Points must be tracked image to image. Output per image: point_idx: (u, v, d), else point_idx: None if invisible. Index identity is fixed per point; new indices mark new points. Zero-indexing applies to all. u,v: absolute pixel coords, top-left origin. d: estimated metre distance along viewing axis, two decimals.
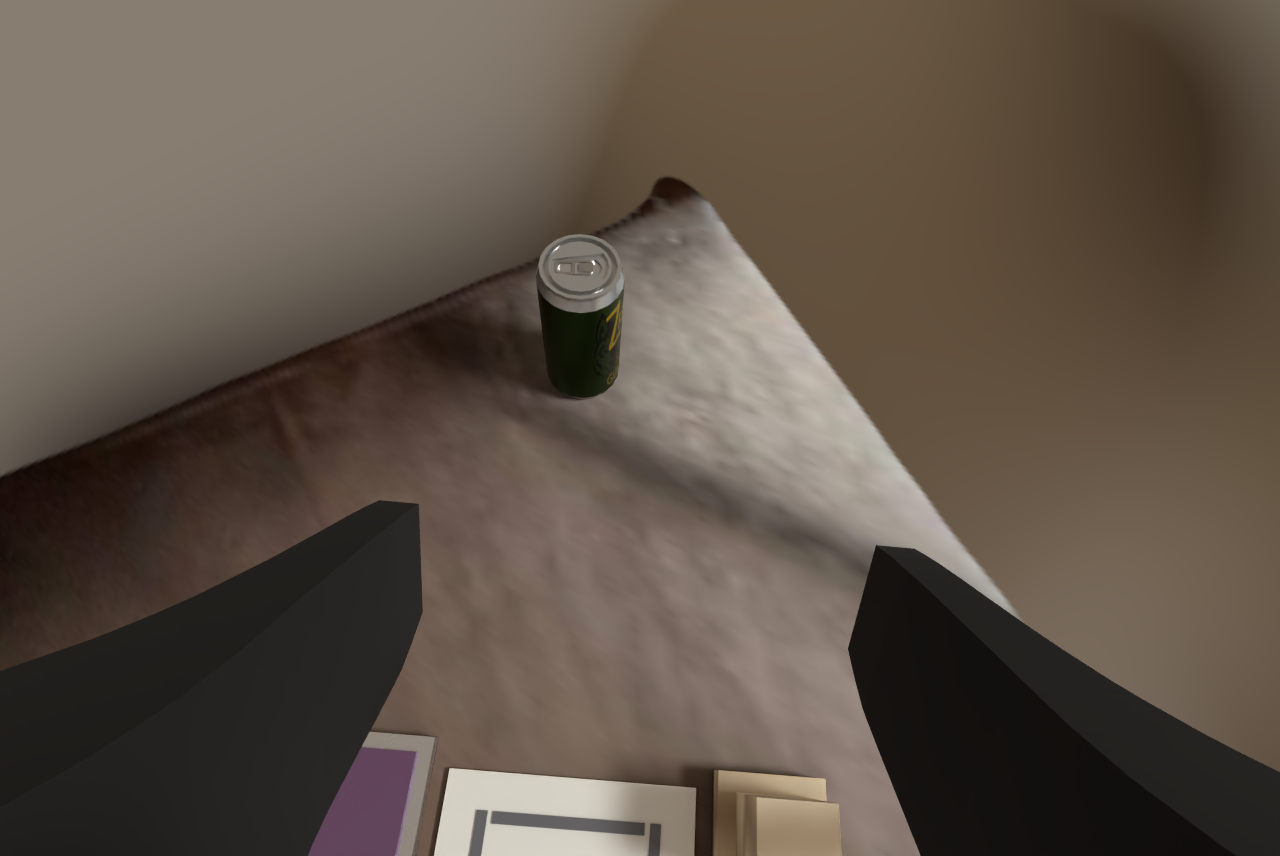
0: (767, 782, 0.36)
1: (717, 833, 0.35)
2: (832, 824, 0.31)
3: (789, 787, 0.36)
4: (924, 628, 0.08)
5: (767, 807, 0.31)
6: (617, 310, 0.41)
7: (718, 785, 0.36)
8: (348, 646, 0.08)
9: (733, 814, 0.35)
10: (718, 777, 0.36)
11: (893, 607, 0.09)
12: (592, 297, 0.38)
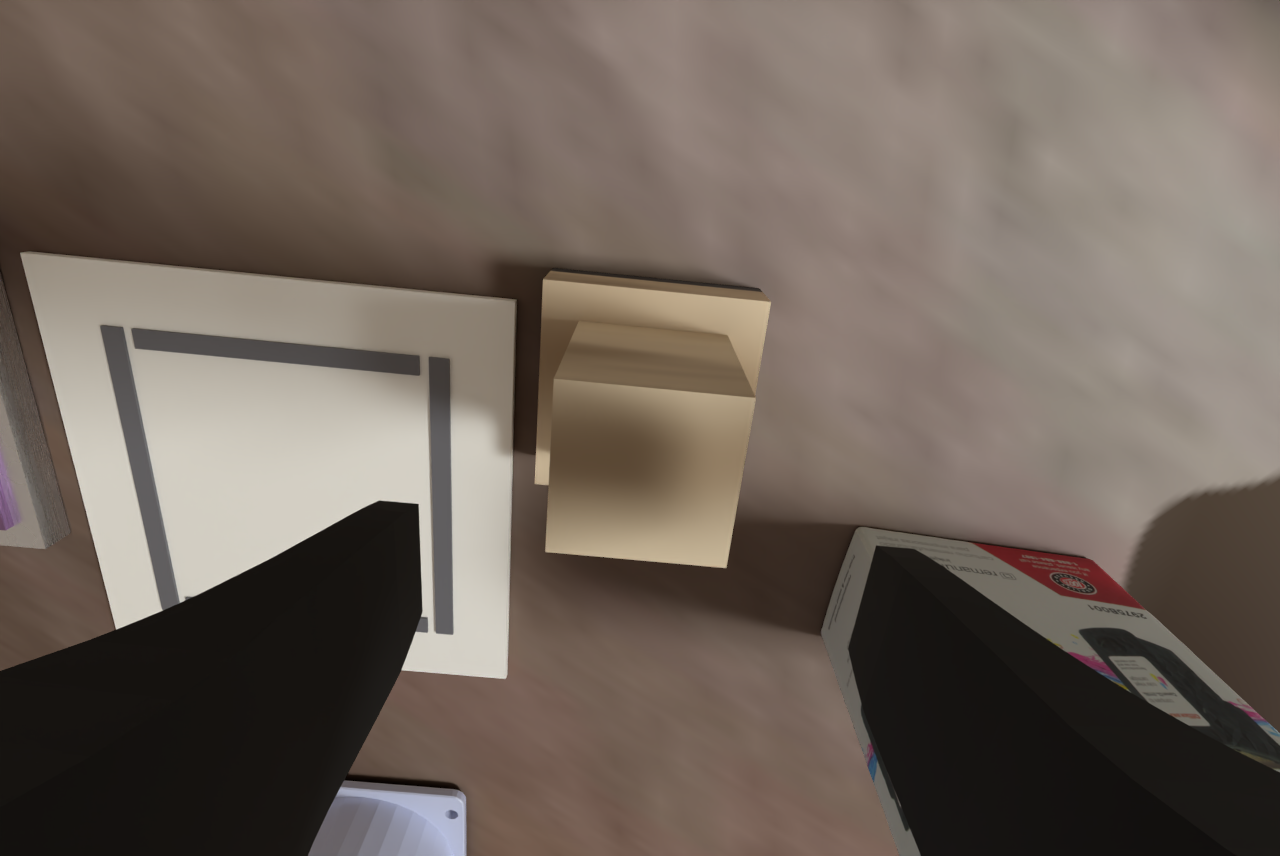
0: (646, 306, 0.17)
1: (539, 387, 0.18)
2: (730, 437, 0.13)
3: (691, 315, 0.17)
4: (924, 628, 0.08)
5: (578, 399, 0.13)
6: None
7: (543, 306, 0.17)
8: (348, 646, 0.08)
9: None
10: (543, 292, 0.17)
11: (893, 607, 0.09)
12: None
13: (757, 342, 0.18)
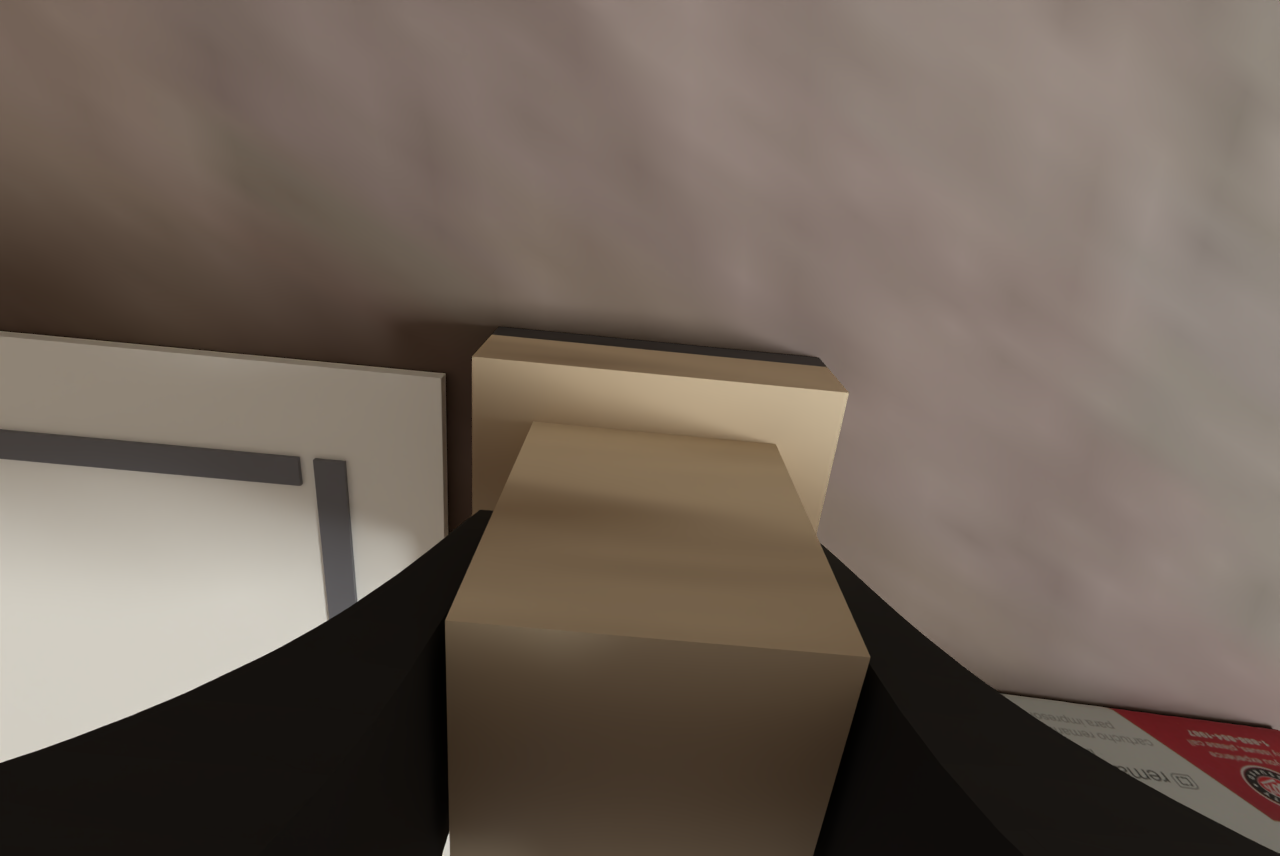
0: (644, 399, 0.11)
1: None
2: (813, 725, 0.07)
3: (717, 413, 0.11)
4: None
5: (498, 658, 0.06)
6: None
7: (475, 399, 0.11)
8: None
9: None
10: None
11: None
12: None
13: (824, 455, 0.11)
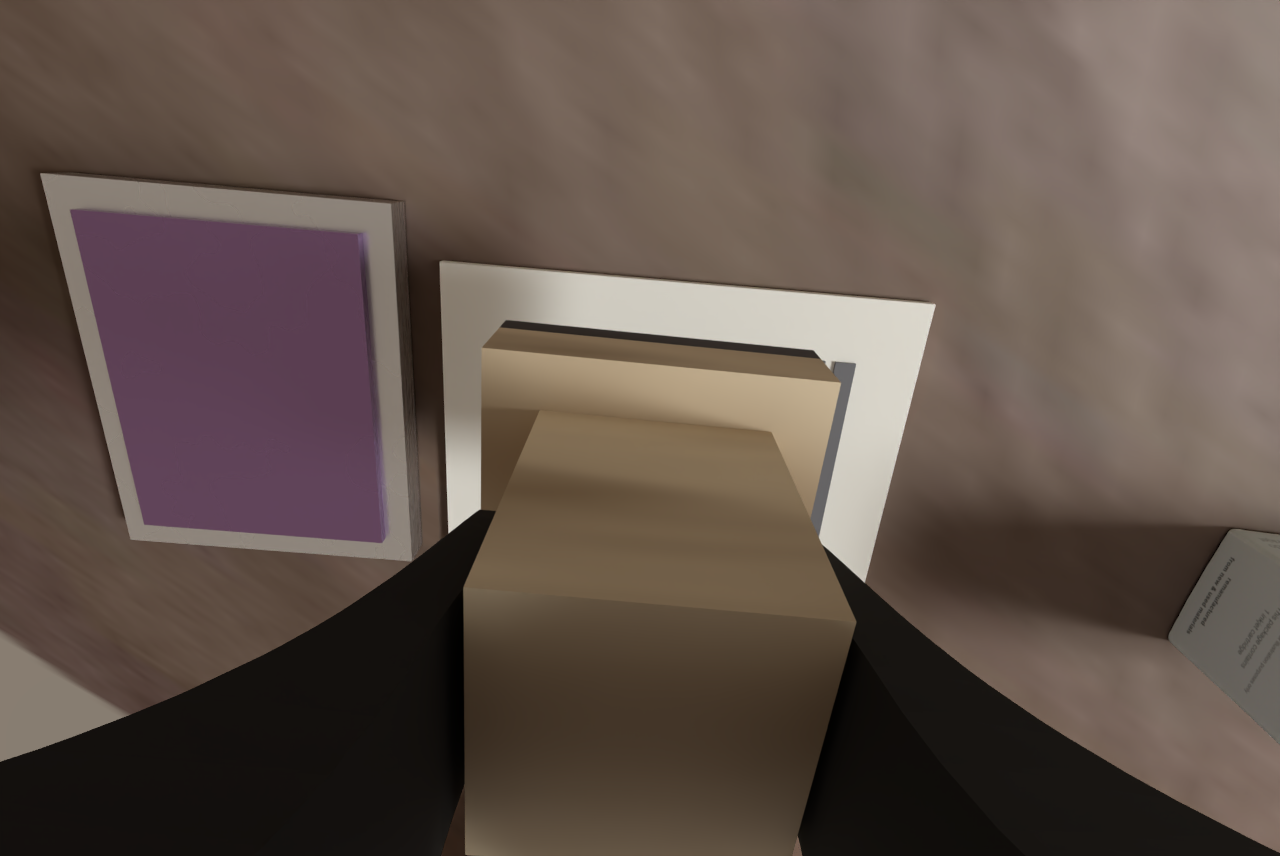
0: (645, 388, 0.11)
1: None
2: (804, 686, 0.07)
3: (715, 402, 0.11)
4: None
5: (511, 623, 0.07)
6: None
7: (484, 388, 0.11)
8: None
9: None
10: (484, 366, 0.11)
11: None
12: None
13: (817, 442, 0.11)
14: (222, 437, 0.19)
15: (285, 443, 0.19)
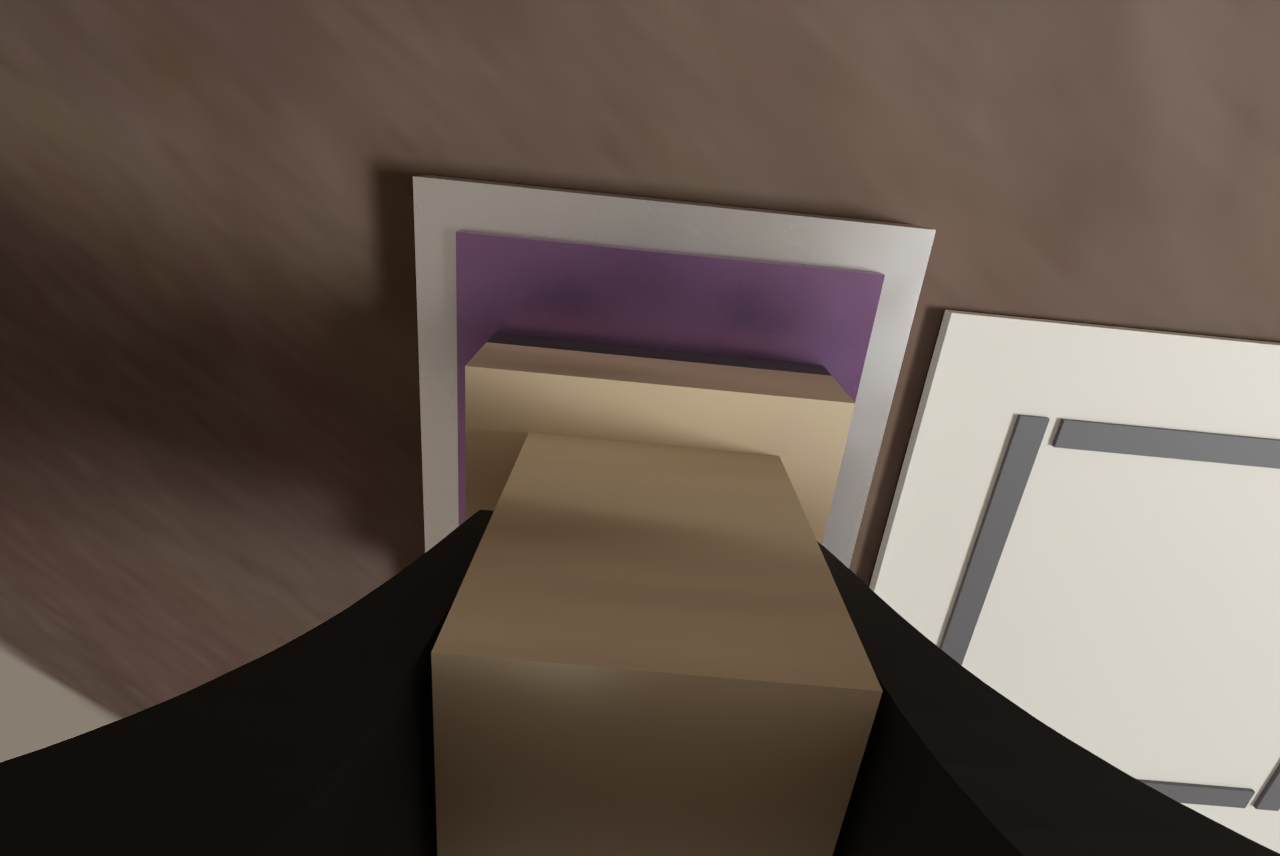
0: (643, 409, 0.10)
1: None
2: (822, 761, 0.06)
3: (718, 424, 0.10)
4: None
5: (487, 691, 0.06)
6: None
7: (468, 409, 0.10)
8: None
9: None
10: (468, 385, 0.10)
11: None
12: None
13: (829, 467, 0.10)
14: None
15: None
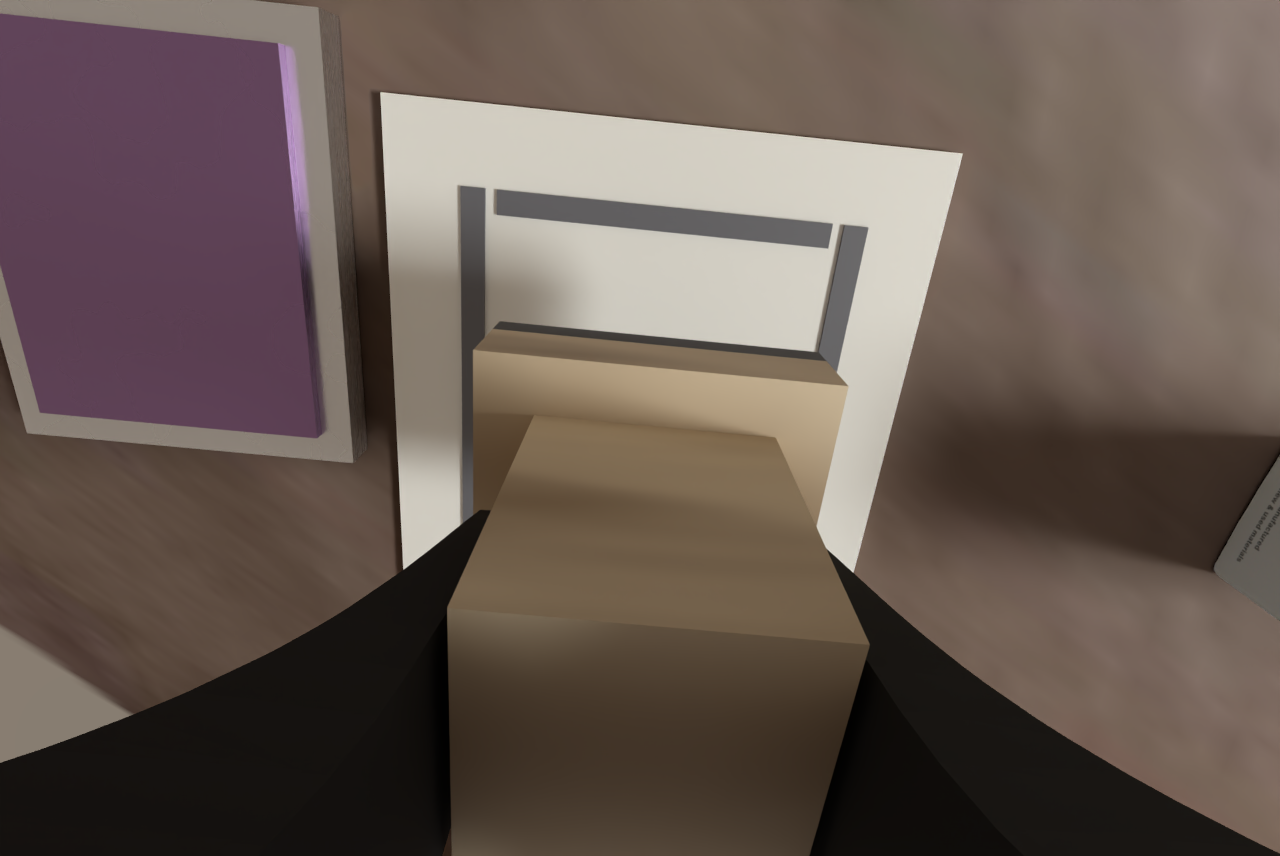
0: (644, 392, 0.11)
1: None
2: (813, 713, 0.07)
3: (717, 407, 0.11)
4: None
5: (499, 646, 0.06)
6: None
7: (476, 392, 0.11)
8: None
9: None
10: (476, 369, 0.11)
11: None
12: None
13: (823, 448, 0.11)
14: (126, 304, 0.16)
15: (200, 312, 0.17)
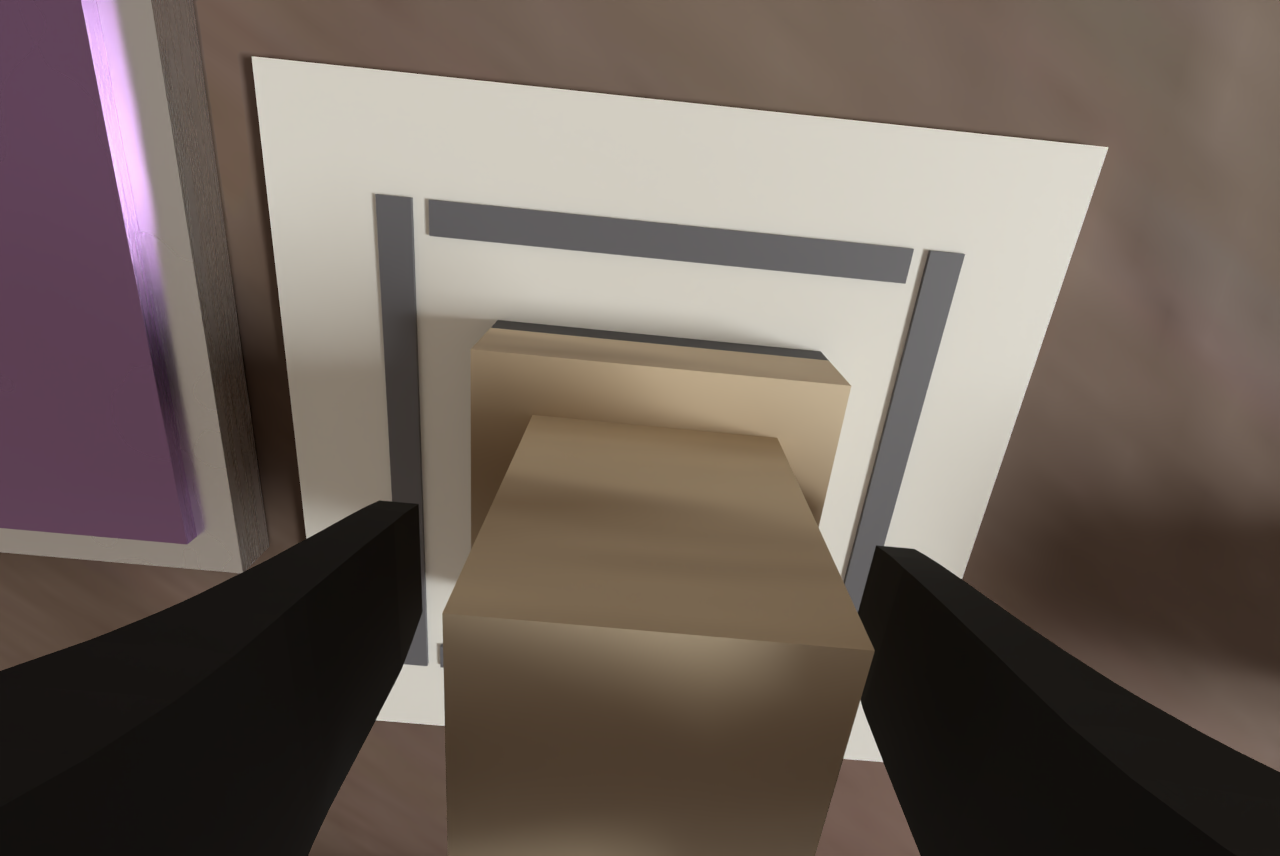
0: (644, 392, 0.10)
1: None
2: (815, 719, 0.06)
3: (717, 407, 0.11)
4: (924, 628, 0.08)
5: (495, 652, 0.06)
6: None
7: (473, 392, 0.11)
8: (349, 645, 0.08)
9: None
10: (473, 369, 0.10)
11: (893, 607, 0.09)
12: None
13: (825, 449, 0.11)
14: None
15: (5, 375, 0.12)
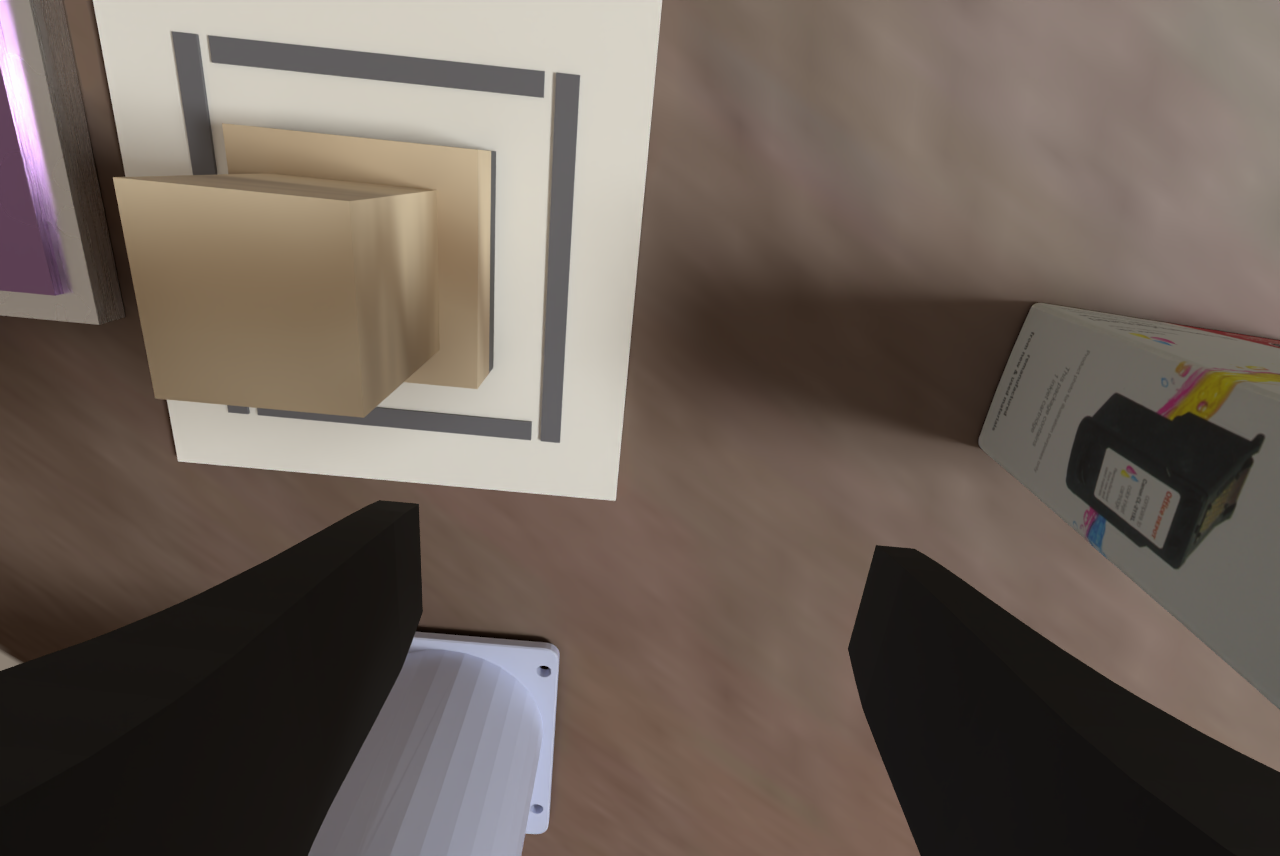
0: (341, 155, 0.16)
1: None
2: (332, 252, 0.12)
3: (392, 166, 0.16)
4: (924, 628, 0.08)
5: (146, 204, 0.11)
6: None
7: (230, 157, 0.16)
8: (349, 645, 0.08)
9: None
10: (227, 140, 0.16)
11: (893, 607, 0.09)
12: None
13: (470, 198, 0.16)
14: None
15: None
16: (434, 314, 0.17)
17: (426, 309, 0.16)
